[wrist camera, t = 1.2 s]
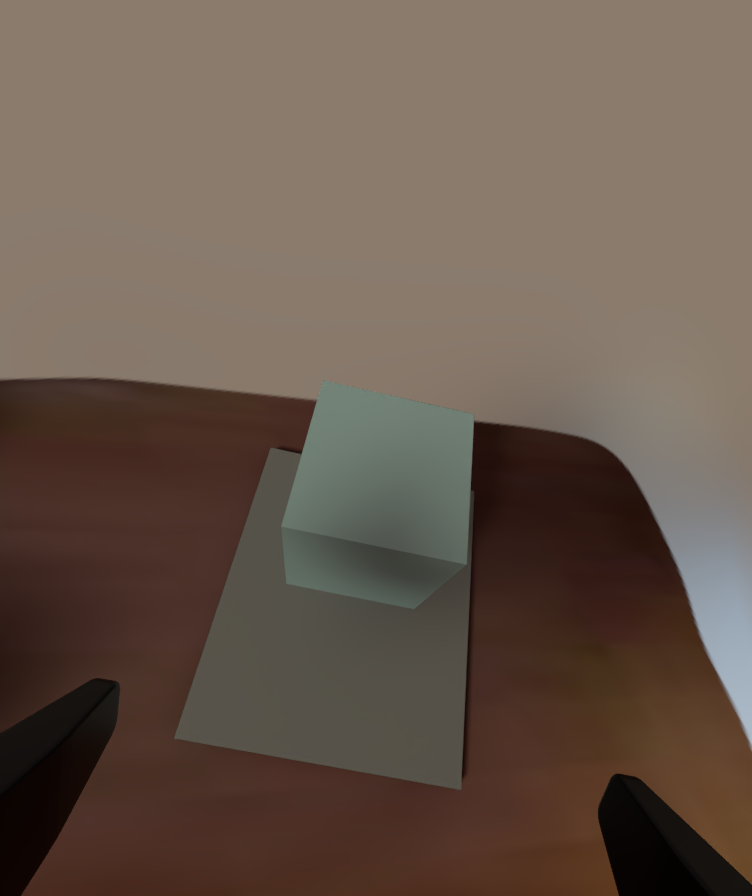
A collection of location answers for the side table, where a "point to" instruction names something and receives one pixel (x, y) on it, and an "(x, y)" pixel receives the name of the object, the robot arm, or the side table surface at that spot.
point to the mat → (330, 663)
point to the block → (379, 498)
